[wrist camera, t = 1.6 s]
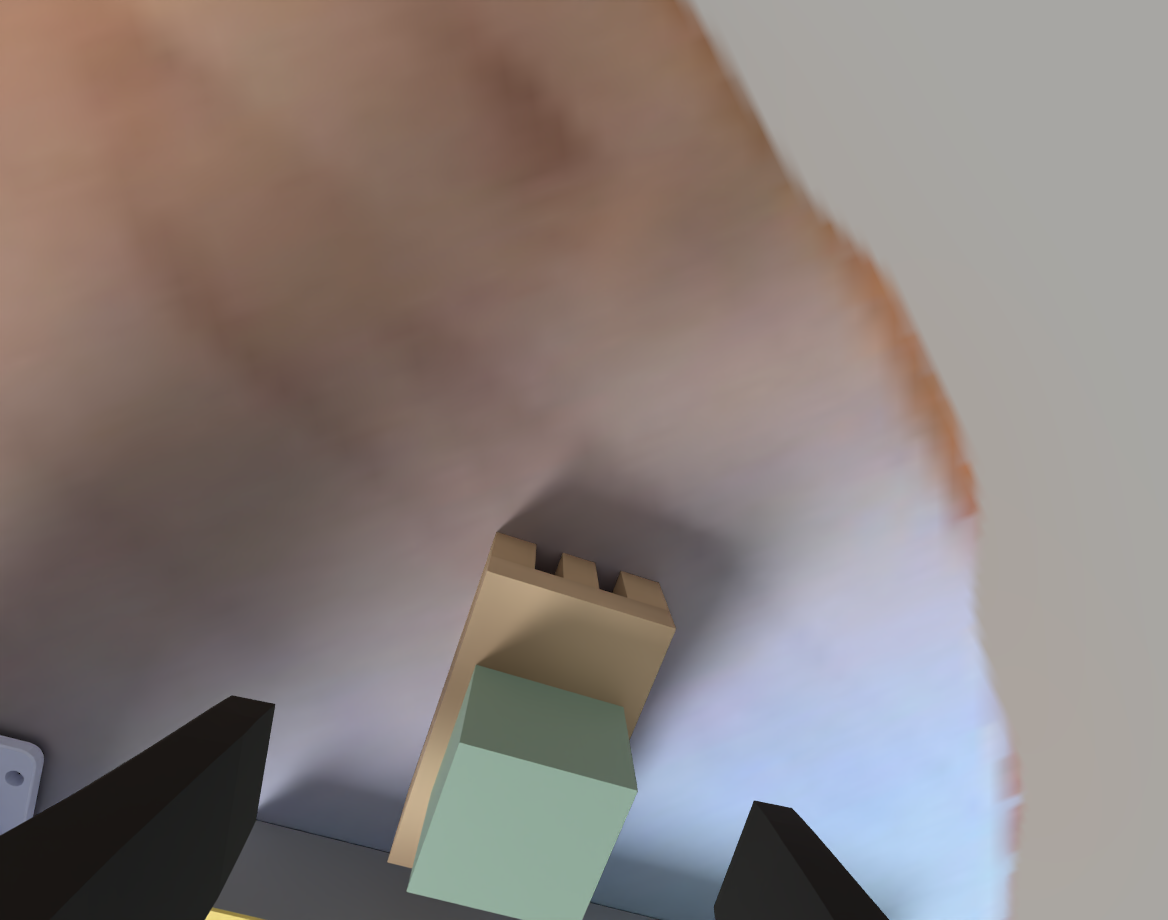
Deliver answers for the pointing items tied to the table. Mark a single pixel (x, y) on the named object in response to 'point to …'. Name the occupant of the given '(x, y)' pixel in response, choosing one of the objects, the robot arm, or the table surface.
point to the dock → (335, 884)
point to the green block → (525, 800)
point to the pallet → (544, 650)
